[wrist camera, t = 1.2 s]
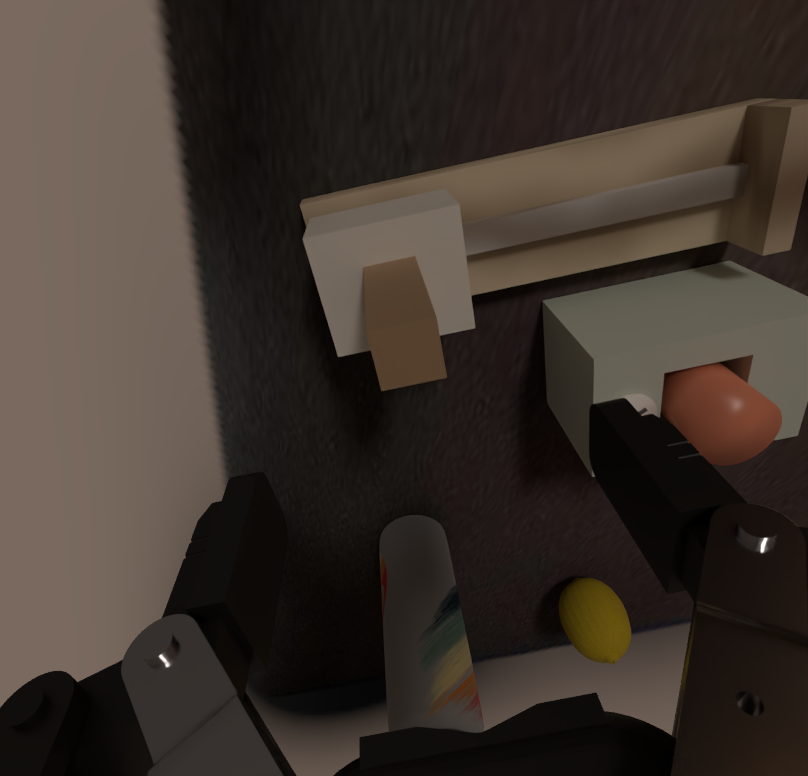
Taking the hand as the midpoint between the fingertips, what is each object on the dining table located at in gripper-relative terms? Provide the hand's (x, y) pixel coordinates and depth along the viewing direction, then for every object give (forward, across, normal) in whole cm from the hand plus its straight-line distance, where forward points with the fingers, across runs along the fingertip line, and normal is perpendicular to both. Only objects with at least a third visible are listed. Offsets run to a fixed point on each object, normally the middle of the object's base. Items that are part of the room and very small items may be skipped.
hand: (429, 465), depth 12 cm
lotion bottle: (+20, +3, +24) cm, 32 cm away
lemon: (+20, -11, +34) cm, 41 cm away
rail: (+20, -8, 0) cm, 21 cm away
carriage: (+17, 0, 0) cm, 17 cm away
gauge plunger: (+15, -15, +9) cm, 23 cm away
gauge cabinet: (+20, -15, +9) cm, 26 cm away
